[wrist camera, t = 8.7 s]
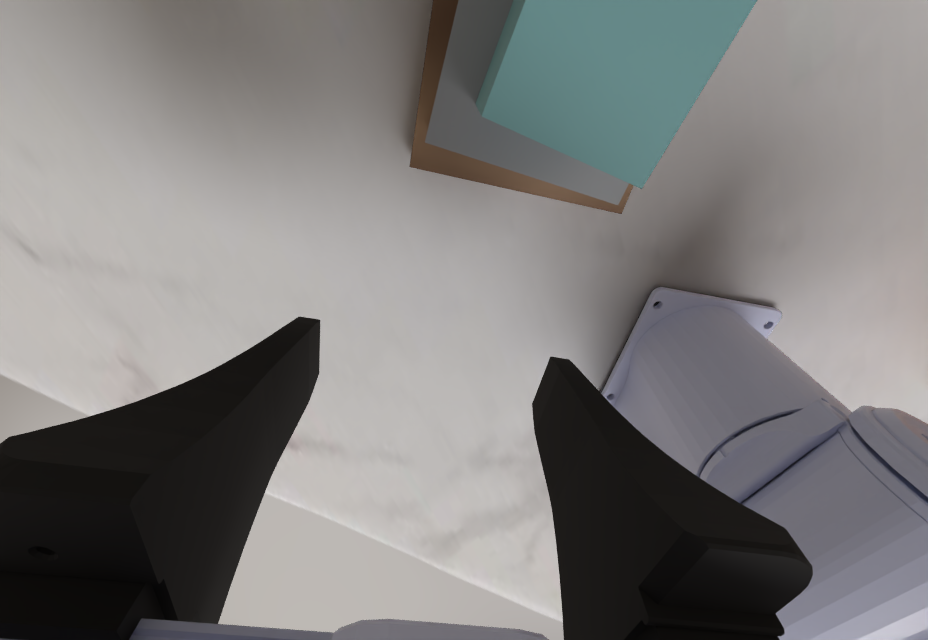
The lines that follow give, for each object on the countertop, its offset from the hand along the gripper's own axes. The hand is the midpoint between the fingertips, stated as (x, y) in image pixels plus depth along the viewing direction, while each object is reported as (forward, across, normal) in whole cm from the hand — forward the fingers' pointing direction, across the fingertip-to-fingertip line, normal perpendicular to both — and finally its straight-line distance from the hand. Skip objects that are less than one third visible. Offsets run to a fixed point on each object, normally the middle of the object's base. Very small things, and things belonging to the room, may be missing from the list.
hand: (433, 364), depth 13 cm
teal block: (+6, -3, -9) cm, 11 cm away
